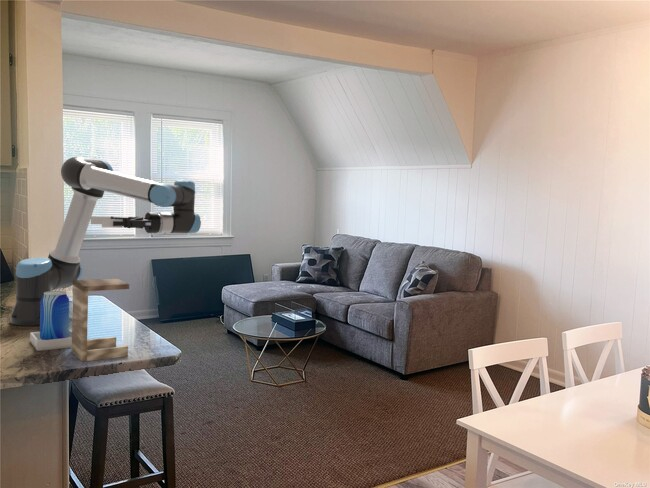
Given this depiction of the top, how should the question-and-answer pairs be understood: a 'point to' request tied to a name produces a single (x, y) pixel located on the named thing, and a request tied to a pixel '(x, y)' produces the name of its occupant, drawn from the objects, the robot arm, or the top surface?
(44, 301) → the beer can
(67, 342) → the tray
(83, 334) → the dock
